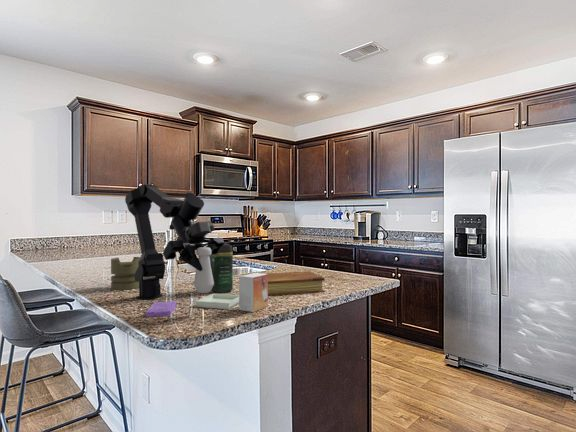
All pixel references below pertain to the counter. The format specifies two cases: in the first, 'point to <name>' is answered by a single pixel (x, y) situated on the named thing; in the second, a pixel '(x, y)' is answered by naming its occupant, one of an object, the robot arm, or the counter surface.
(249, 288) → the small box
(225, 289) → the coffee jar
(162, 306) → the sponges
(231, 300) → the tray
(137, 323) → the counter surface
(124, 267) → the piston
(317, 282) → the diary
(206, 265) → the salt shaker
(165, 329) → the counter surface
